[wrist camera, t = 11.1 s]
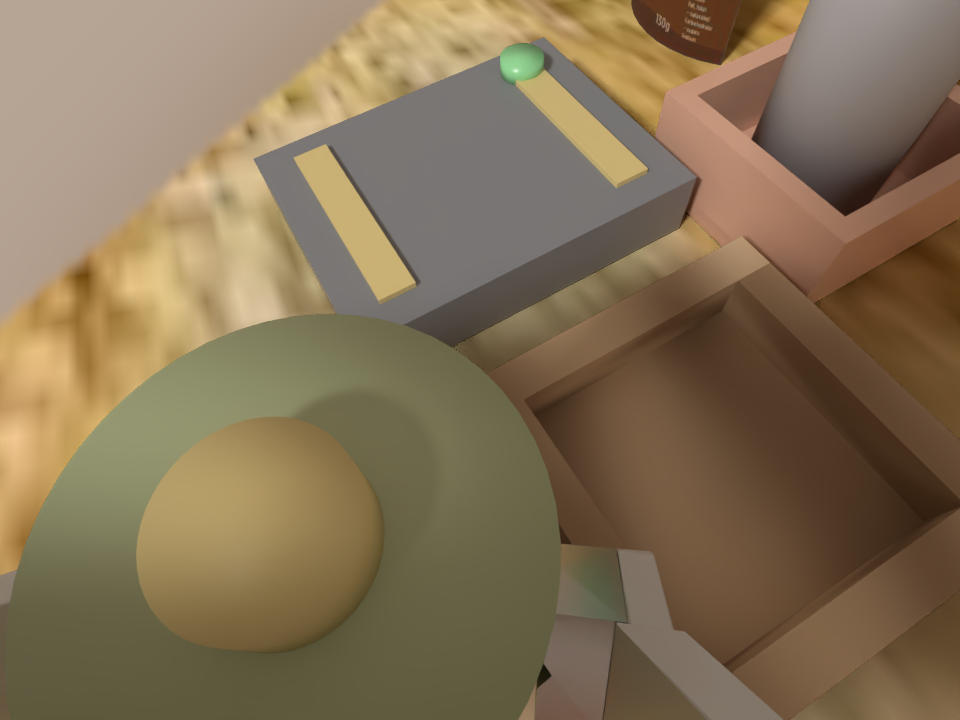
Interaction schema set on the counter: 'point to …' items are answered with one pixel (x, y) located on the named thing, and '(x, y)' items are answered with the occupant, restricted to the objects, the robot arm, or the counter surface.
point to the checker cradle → (475, 194)
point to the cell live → (293, 541)
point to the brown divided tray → (748, 471)
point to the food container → (689, 25)
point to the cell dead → (859, 92)
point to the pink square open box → (784, 197)
